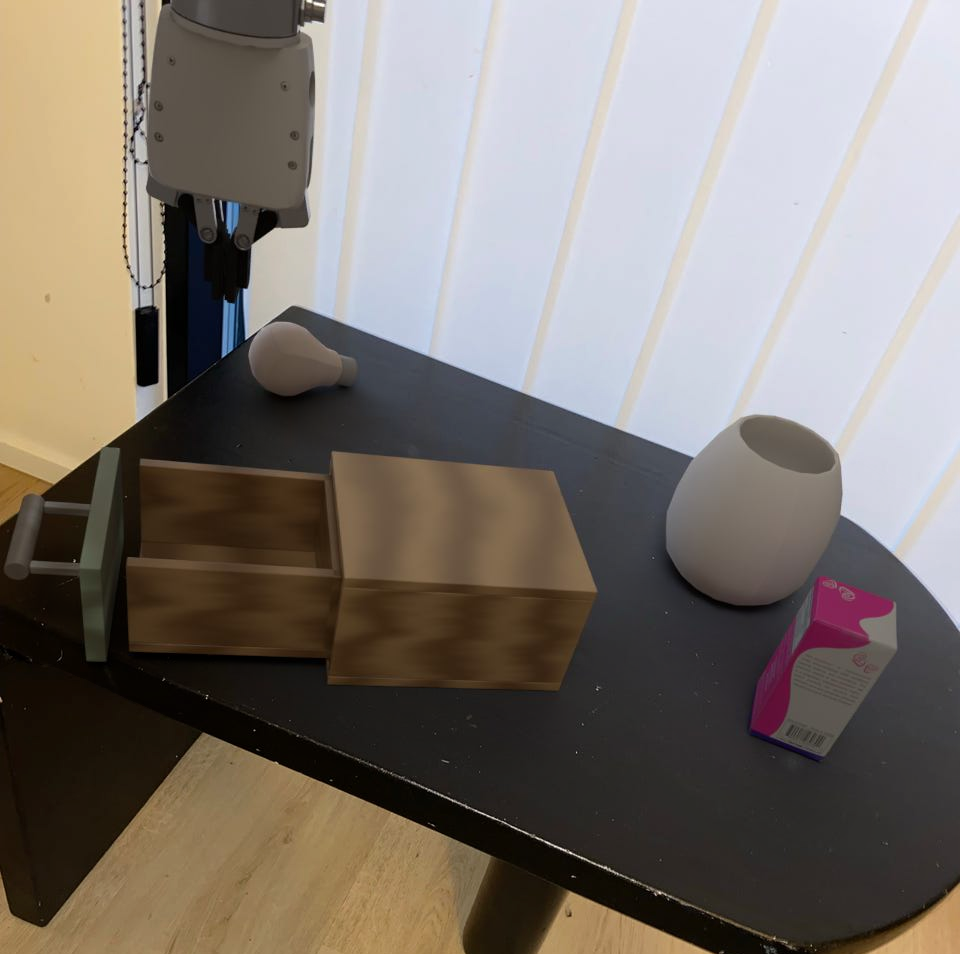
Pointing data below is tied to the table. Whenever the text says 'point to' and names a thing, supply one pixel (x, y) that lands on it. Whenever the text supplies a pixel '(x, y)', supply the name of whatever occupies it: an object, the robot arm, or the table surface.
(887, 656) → the supplement box
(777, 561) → the cup
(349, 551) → the cabinet
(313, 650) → the drawer
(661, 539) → the table surface
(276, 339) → the light bulb
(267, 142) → the robot arm
